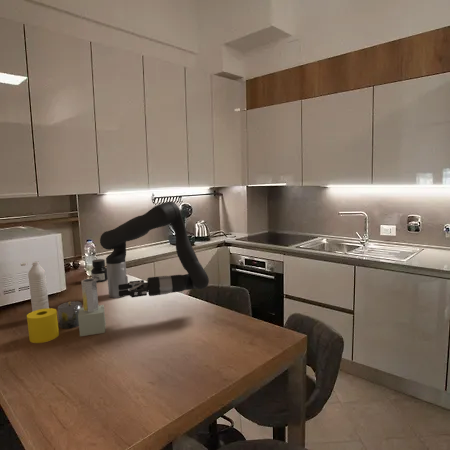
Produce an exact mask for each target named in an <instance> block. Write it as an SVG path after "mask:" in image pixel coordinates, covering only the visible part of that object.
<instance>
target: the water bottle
mask: <svg viewBox="0 0 450 450" xmlns="http://www.w3.org/2000/svg"><path fill="white" fill-rule="evenodd" d="M31 265H32V266H31V268H30V269H29V271H28V274H27V276H28V283H29V284H28V285H29V294H30V301H31V302H30V303H31V309H32V311H31V312H33V311H36V310H39V309H45V308H50V307H49V306H50V303H49V295H48V287H47V286H48V284H47V277H46V270H45V269H44V268H43V267H42V266H41V265H40V262H39V261H32V264H31ZM20 266H21V267H25V266H28V262H26V261H25V262H21V263H20Z"/></svg>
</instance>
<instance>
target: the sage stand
mask: <svg viewBox="0 0 450 450" xmlns="http://www.w3.org/2000/svg"><path fill="white" fill-rule="evenodd" d="M98 306H99V310H98V311H96V312H92V313H86V312H84V307H82V308H80V310H79V314H78V321H79V326H78V329H79V330H78V331H79V337H86V336H92V335H99V334H105V333H106V324H107V323H106V314H105V311H106V310H105V304H100V305H99V304H98Z"/></svg>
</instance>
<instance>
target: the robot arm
mask: <svg viewBox="0 0 450 450" xmlns="http://www.w3.org/2000/svg"><path fill="white" fill-rule="evenodd" d="M168 225H171V226H172V229H173V231H174V234H175V235H174V236H175V250H176V255H177V257H178V259H179V261H180V264H181V265H182V268H183V269H184V270H185V271H186V272H187V274H173V275H160V276H149V277H147V280H146V282H145V280H144V279H141V280H131V281H129V279H128V276H127V265H126V264H127V263H126V257H127V242H131V241H134V240H137V239H140V238H141V237H142V238H143V237H144V236H146V235H147V234H148V233H150V231H151V230H155V229H158V228H163V227H166V226H168ZM185 225H186V224H185V222H184V219H183V215H182V213H181V210H180V208H179V206H178V205H177V203H175V202H174V201H167V202H166V201H165V202H162V203H159V204H157V205H155V206H153V207H151V209H149V210H148V211H147V212H145V213H144V214H142V215H138V216H135V217H133V218H131V219H129V220H127V221H125V222H124V223H122V224H120V225H118V226H117V227H114V228H113V229H110V230H107V231H104V232H103V233H102V234H101V235H100V238H99V242H100V243H99V244H100V246H101V247H102V248H103V249H104V250H107V251H108V250H110V251H112V250H113V251H112V252H111V253H110V254H109V255H107V256H106V257H105V267H106V268H107V278H108V280H107V287H108V297H109V298H113V299H116V298H117V299H118V298H122V297H130V298H138V297H139V298H140V297H144V296H147V295H148V296H149V297H156V296H162V295H167V294H173V293H174V294H175V293H179V292H183V291H189V290H204V289H205V288H207V287H208V285H209V283H210V279H209V276H208V273H207V271H206V270H205V269H204V267H203V266H202V264H201V262H200V261H199V259H198V256H197V255H196V252H195V250H194V248H193V246H192V243H191V241H190V239H189V235H188V233H187V232H188V231H187V228H186V226H185Z"/></svg>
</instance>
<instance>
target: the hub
mask: <svg viewBox="0 0 450 450" xmlns="http://www.w3.org/2000/svg"><path fill="white" fill-rule="evenodd" d="M80 308H83V302H81V301H76V300H75V301H68V302H64V303H61V304H59V305H58V306H57V316H58V326H59V328H61V329H74V328H77V327H78V328H79V321H78V314H79V310H80Z"/></svg>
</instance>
